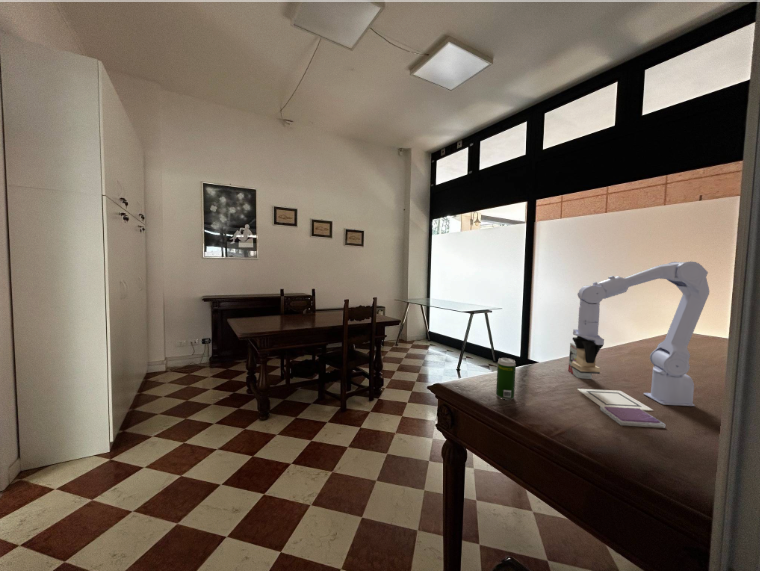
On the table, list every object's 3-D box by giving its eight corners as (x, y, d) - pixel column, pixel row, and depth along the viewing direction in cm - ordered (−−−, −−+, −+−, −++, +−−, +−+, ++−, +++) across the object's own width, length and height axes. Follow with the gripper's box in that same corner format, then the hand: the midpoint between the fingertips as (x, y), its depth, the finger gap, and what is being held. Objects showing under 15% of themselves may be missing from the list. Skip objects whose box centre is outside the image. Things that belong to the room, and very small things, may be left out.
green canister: (517, 400, 96) (519, 363, 96) (500, 400, 96) (502, 362, 95) (509, 393, 102) (511, 357, 101) (493, 393, 102) (494, 357, 101)
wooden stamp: (589, 367, 108) (590, 348, 108) (599, 373, 103) (601, 353, 102) (571, 367, 109) (572, 347, 109) (580, 373, 103) (582, 352, 103)
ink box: (567, 370, 125) (569, 342, 125) (580, 371, 125) (582, 342, 124) (578, 378, 117) (580, 347, 116) (592, 379, 116) (594, 348, 115)
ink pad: (639, 411, 91) (639, 407, 90) (665, 427, 82) (665, 423, 81) (599, 409, 91) (600, 405, 91) (620, 425, 82) (621, 420, 82)
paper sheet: (620, 391, 105) (620, 390, 105) (653, 411, 91) (653, 409, 91) (577, 389, 106) (577, 388, 106) (603, 408, 92) (603, 407, 92)
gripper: (565, 317, 112) (563, 353, 113) (588, 324, 98) (585, 366, 99) (585, 317, 112) (583, 354, 112) (612, 325, 97) (609, 367, 98)
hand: (585, 360), depth 106 cm, fingers closed on wooden stamp, 4 cm apart
